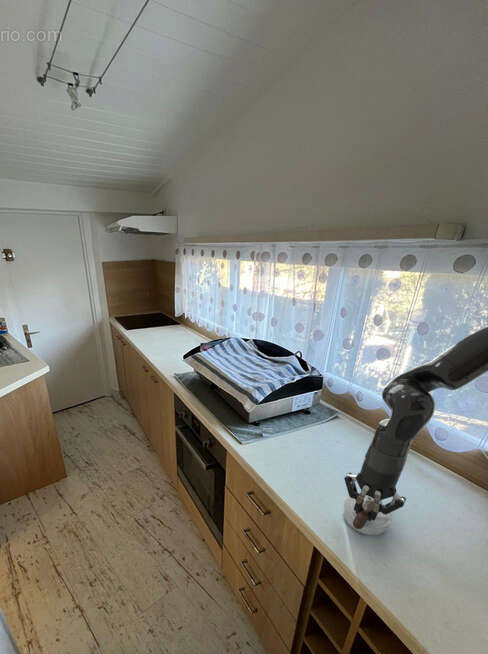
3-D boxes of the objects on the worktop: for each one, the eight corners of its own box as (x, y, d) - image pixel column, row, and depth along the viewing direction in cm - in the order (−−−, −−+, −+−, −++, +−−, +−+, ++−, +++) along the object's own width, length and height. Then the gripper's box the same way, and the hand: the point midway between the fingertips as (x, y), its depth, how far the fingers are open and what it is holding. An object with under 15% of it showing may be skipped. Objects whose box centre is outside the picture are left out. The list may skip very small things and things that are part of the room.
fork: (374, 487, 87) (376, 481, 86) (383, 492, 85) (386, 486, 84) (349, 527, 75) (352, 520, 74) (360, 533, 74) (363, 526, 73)
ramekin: (366, 547, 76) (371, 533, 74) (331, 515, 85) (335, 501, 83) (396, 531, 80) (402, 518, 78) (359, 502, 89) (364, 489, 87)
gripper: (423, 468, 68) (398, 522, 76) (357, 443, 77) (341, 493, 85) (415, 486, 63) (389, 541, 71) (346, 456, 72) (330, 508, 80)
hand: (363, 515), depth 78 cm, fingers closed on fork, 2 cm apart
